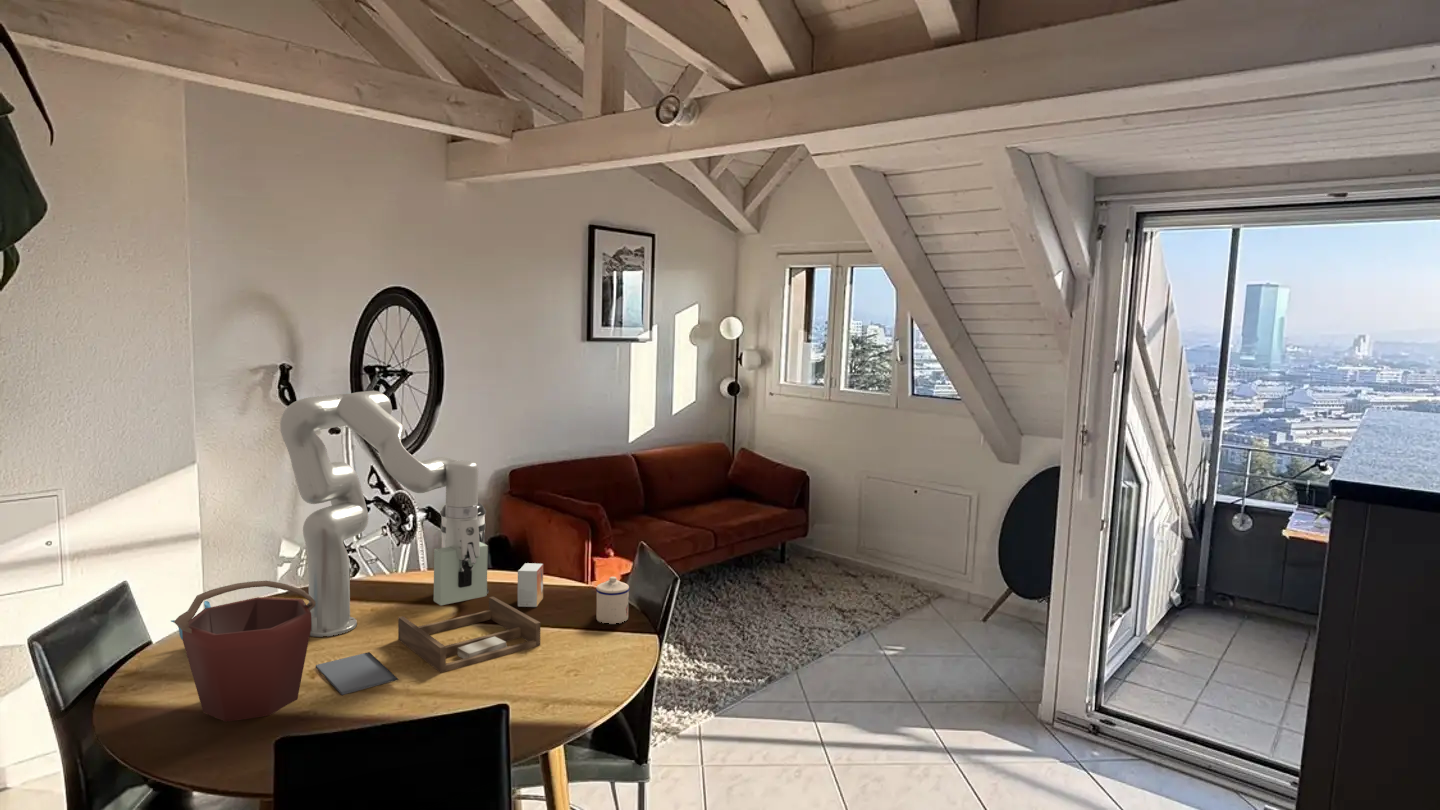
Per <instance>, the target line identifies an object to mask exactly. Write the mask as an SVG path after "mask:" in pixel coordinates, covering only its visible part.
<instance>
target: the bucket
mask: <svg viewBox="0 0 1440 810" xmlns="http://www.w3.org/2000/svg"><path fill="white" fill-rule="evenodd" d="M261 587H262V588H263V587H264V588H265V587H269V588H274V589H279V590H284V591H288V592H291V593H294V594H297V595H300V596H302V597H303V598H305V599H306V600H307V601H308V603H307V604H306V602H305V600H304V599H302V598H286V597H285V598H284V597H283V598H281V597H259V596H257V597H252V598H247V599H242V600H240V601H233V602H229V603H225V604H224V603H223V604H220V605H214V606H211V607H210V608H205V607H204V608H203V609H202V610H201V611H200V612H198V611H199V609H200V607H201V606H202V604H203V603H204V602H205V601H207V600H208V599H211V598H215V597H217V596H219V595H223V594H225V593H229V592H230V593H231V592H233V591H238V590H243V589H244V590H245V589H250V588H261ZM309 601H310V603H309ZM315 605H316V602H315V600H314V599H313V598H312V597H311V596H310V595H309V593H307V591H305V590H304V589H302V588H299V587H296V586H293V585H291V584H286V583H282V582H277V581H271V580H258V581H255V580H254V581H244V582H238V583H233V584H232V583H231V584H229V585H225V586H220V587H217V588H212V589H210V590H206V591H205V592H203V593H200V594H197V595H196V596H195V598H194V599H193V601H192V603H191V604H190V606H189V608H188V610H187V611H185V612H183V613H182V614H180V615H179V616H178V617H177V618H176V619H174V620H175V621H174V622H173V623H174V624H175V625H176V626H177V628H178V627H179V628H180V629H181V630H182V635H183V640H182V642H183V643H182V644H183V646H184V650H185V653H186V656H187V657H186V658H187V659H188V664H189V667H190V671H191V674H192V678H193V681H194V684H195V689H196V692H197V695H198V696H197V697H198V698H199V703H200V706H201V710H202V713H203V712H205V713H204V714H206V713H207V714H206V715H208V714H209V716H210V715H211V717H213V716H214V717H213V718H215V717H216V718H215V719H218V720H220V719H221V720H220V721H222V720H223V722H224V723H227V721H228V722H232V721H240V720H241V721H242V720H247V719H248V720H249V719H254V718H259V717H260V718H261V717H267V716H270V715H272V714H274V713H276V712H277V711H280V710H281V709H283V708H285V707H286V706H288V705H290V704H292V703H294V702H296V701H298V698H299V693H300V687H301V683H302V682H301V681H302V678H303V672H304V666H305V663H306V657H307V652H308V646H309V641H310V637H311V636H310V632H311V612H310V610H311V609H313V608H314V607H315ZM197 612H198V613H197ZM179 628H178V629H179Z"/></svg>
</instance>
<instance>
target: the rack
mask: <svg viewBox="0 0 1440 810" xmlns="http://www.w3.org/2000/svg"><path fill="white" fill-rule="evenodd" d="M397 619H398V620H397V623H398V625H397V628H398V630H397V631H398V633H397V634H398V636H397V637H398V638H397V639H398V641H399V642H400V643H402V644H403V646H406V647H407V648H408V649H410V650H411V651H412V652H414V653H415V654H416V655H417V656H418V657H420V658H421V659H422V660H424V661H425V662H426V663H427V664H429V665H430V666H431V667H433V668H434V669H435V670H436V671H438V672H439V673H445V672H448V671H452V670H456V669H459V668H462V667H463V668H464V667H466V666H471V665H474V664H477V663H482V662H485V661H488V660H491V659H492V660H493V659H495V658H499V657H503V656H507V655H510V654H514V653H517V652H520V651H524V650H528V649H531V648H535V647H538V646H541V621H539V620H537V619H535V618H533V617H531V616H529V615H528V614H526V613H524V612H522V611H520V610H518V609H517V608H515V607H513V606H512V605H509V603H506V602H504V601H503V600H500V599H498V598H497V597H495V596H489V597H488V610H482V611H479V612H476V613H469V614H465V615H460V616H457V617H454V618H452V617H451V618H447V619H444V620H441V621H435V622H432V623H427V624H422V625H418V626H417V624H415V623H413V622H412V621H410V620H409V619H408V618H406V617H405V616H404V615H402V616H398V617H397ZM490 620H491V621H493V622H494V623H496V624H498V625H500V626H501V627H503V628H504V629H506V630H503V631H498V632H494V633H491V634H487V635H482V636H479V637H475V638H471V639H467V640H463V641H459V642H455V643H451V644H446V645H444V644H443V643H442V642H440V641H438V640H437V639H436V638H435V637H433V636H431V635H433V634H436V633H440V632H441V633H442V632H444V631H448V630H453V629H457V628H461V627H465V626H469V625H472V624H477V623H482V622H485V621H490ZM494 636H495V637H497V638H499V639H501V640H503V641H506V642H508V641H512V640H516V639H519V638H521V639H523V640H524V642H521V643H517V644H514V645H510V646H509V647H506V648H502V649H498V650H495V651H491V652H487V653H483V654H480V655H476V656H472V657H469V658H465V659H462V658H460V659H458V660H455V661H451V662H446V661H447V659H446V658H448V657H451V656H455V655H458V648H459V647H462V646H465V645H468V644H471V643H475V642H478V641H481V640H484V639H487V638H491V637H494Z"/></svg>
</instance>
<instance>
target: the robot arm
mask: <svg viewBox="0 0 1440 810" xmlns="http://www.w3.org/2000/svg"><path fill="white" fill-rule="evenodd" d="M392 409H393V406H392V403H391V400H390V399H389V398H388V396H387V395H385V394H384V393H382V392H381V391H378V390H366V391H356V392H352V393H341V394H331V395H320V396H319V395H318V396H310V397H309V396H308V397H304V398H300V399H298V400H296V401H293V402H292V403H290V404H289V405H288V406H287V407H286V408H285V410H284V411H283V412H282V414H281V419H280V422H279V424H280V425H279V426H280V427H279V428H280V433H281V434H280V435H281V437H282V439H283V442H284V444H285V447H286V450H287V452H288V455H289V459H290V462H291V463H290V464H291V468H292V470H293V474H294V478H295V481H296V485H297V489H298V493H299V495H300V498H301V499H302V500H303V501H304V502H305V503H307V504H309V505H318V504H323V503H327V502H330V503H331V505H329V506H326V507H323V508H320V509H317V510H316V511H313V512H312V513H310V514H309V515H308V516H307V517H306V519H305V521H304V522H303V525H302V534H303V540H304V543H305V547H306V553H307V554H306V555H307V574H308V575H307V579H308V580H307V581H308V594H309V595H310V596H311V597H312V598H313V599H314V600H315V602H316V605H315V607H314V608H313V609H311V610H310V612H311V632H310V637H315V638H318V637H319V638H323V636H327V637H333V635H334V636H338V634H339V635H342V633H343V634H346V633H348V631H349V632H351V631H352V630H354V629H355V628H356V627H357V625H358V624H357V623H358V620H357V619H356V618H355V617H354V616H351V599H350V598H351V589H350V586H351V585H350V584H351V583H350V582H351V581H350V558H349V554H348V551H347V549H346V547H345V544H344V541H346V540H349V539H351V538H353V537H356V536H358V535H360V534H361V533H363V532H364V531H365V530H366V528H367V527H368V524H369V511H368V507H367V504H366V501H365V500H366V499H365V496H364V492H363V489H362V485H361V481H360V478H359V475H358V473H357V472H356V470H355V469H354V468H353V467H352V466H351V465H349V464H348V463H346V462H345V461H344V462H343V461H334V462H333V461H332V462H331V460H330V458H329V453H328V450H327V447H326V445H325V443H324V442H323V440H322V439H321V438H320V436H318V435H317V432H318V431H320V430H329V429H332V428H339V427H349V428H350V429H351V430H352V431H353V432H355V433H356V434H358V435H359V436H360V437H361V438H362V439H363V440H365V441H366V442H367V443H368V444H369V445H371V446H372V447H373V448H374V449H376V451H378V454H379V455H378V456H379V458H380V461H381V463H382V465H383V468H384V470H385V471H386V472H387V474H388V475H389V476H391V477H392V478H393V479H394V480H395V481H397V482H398V484H400V485H401V486H403V487H404V488H405V489H407V490H408V491H410V492H413V493H417V494H425V493H429V492H430V491H433V490H434V491H435V490H437V489H441V488H445V505H446V519H447V523H446V536H445V547H450V548H452V549H454V550H456V555H457V558H458V559H459V561H460V571H459V573H458V587H460V588H462V587H467V586H471V585H472V570H473V565H474V564H475V563H476V559H475V558H478V557H479V555H480V543H479V528H478V521H477V517H478V502H479V500H478V499H479V466H478V464H477V463H476V462H475V461H471V460H455V459H451V458H447V457H445V456H437V457H433V458H429V459H426V460H420V461H419V459H418V458H416V457H414V456H413V454H411V453H410V452H409V451H407V449H406V448H405V447H404V445H403V443H402V439H403V438H404V436H405V432H406V429H405V426H404V425H403V424H402V423H401V422H400V421H398V420H397V418H395V417H394V416H393V415H391V414H392V411H393V410H392ZM465 556H468V558H465ZM464 561H468V562H466V563H465V564H464ZM308 603H310V601H309V600H308ZM350 630H351V631H350ZM345 632H346V633H345Z"/></svg>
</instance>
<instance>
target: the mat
mask: <svg viewBox="0 0 1440 810" xmlns="http://www.w3.org/2000/svg"><path fill="white" fill-rule="evenodd" d="M315 669H317V671H318V672H319V673H320V672H321V673H322V674H323V675H324V676H325V677H324V676H323V675H322V674H321V675H322V676H323V677H324V678H325V679H326V680H327V681H328V682H329V683H330V685H332V686H333V687H334V688H335V690H336V691H337V692H339V694H340V695H341V696H342V695H347V694H351V693H355V692H358V691H362V690H365V689H369V688H373V687H376V686H379V685H384V684H387V683H392V682H395V681H399V680H400V679H399V678H398V677H397V676H396V675H395V674H394V673H393V672H391V670H390V669H388V668H387V666H385V665H384V664H382V662H381V661H380V660H379V659H377V658H376V657H375V656H374V655H373V654H372V653H371V652H370V651H368V652H364V653H361V654H360V653H359V654H356V655H352V656H348V657H344V658H339V659H335V660H331V661H327V662H326V661H325V662H323V663H318V664H316V665H315Z"/></svg>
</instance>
